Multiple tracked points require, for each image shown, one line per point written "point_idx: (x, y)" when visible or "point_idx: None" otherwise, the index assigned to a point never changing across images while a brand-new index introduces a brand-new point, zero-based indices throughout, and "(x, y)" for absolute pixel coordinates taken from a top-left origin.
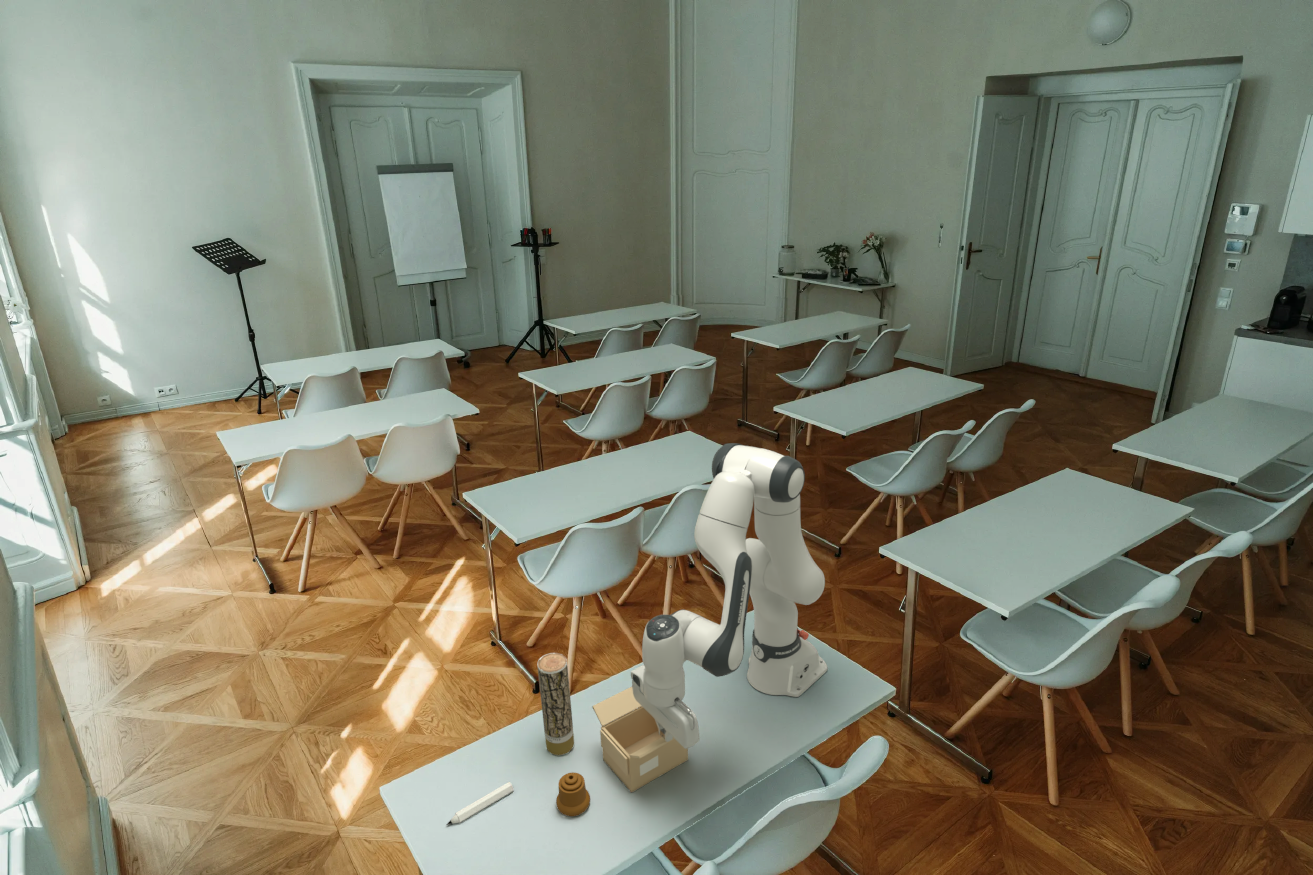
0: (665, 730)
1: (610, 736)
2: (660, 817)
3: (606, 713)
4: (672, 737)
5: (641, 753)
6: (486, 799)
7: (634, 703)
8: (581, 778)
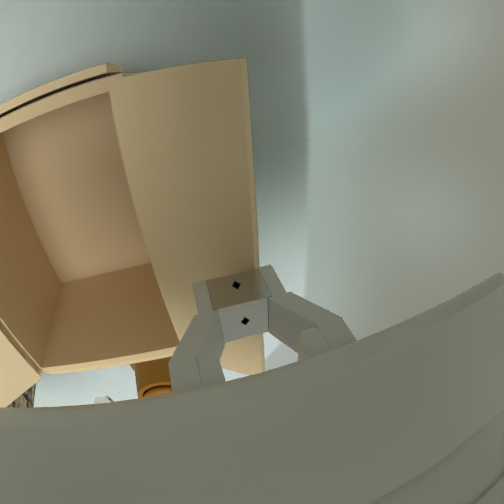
0: (240, 320)
1: (80, 367)
2: (275, 224)
3: (5, 375)
4: (274, 271)
5: (246, 365)
6: None
7: None
8: (167, 391)
